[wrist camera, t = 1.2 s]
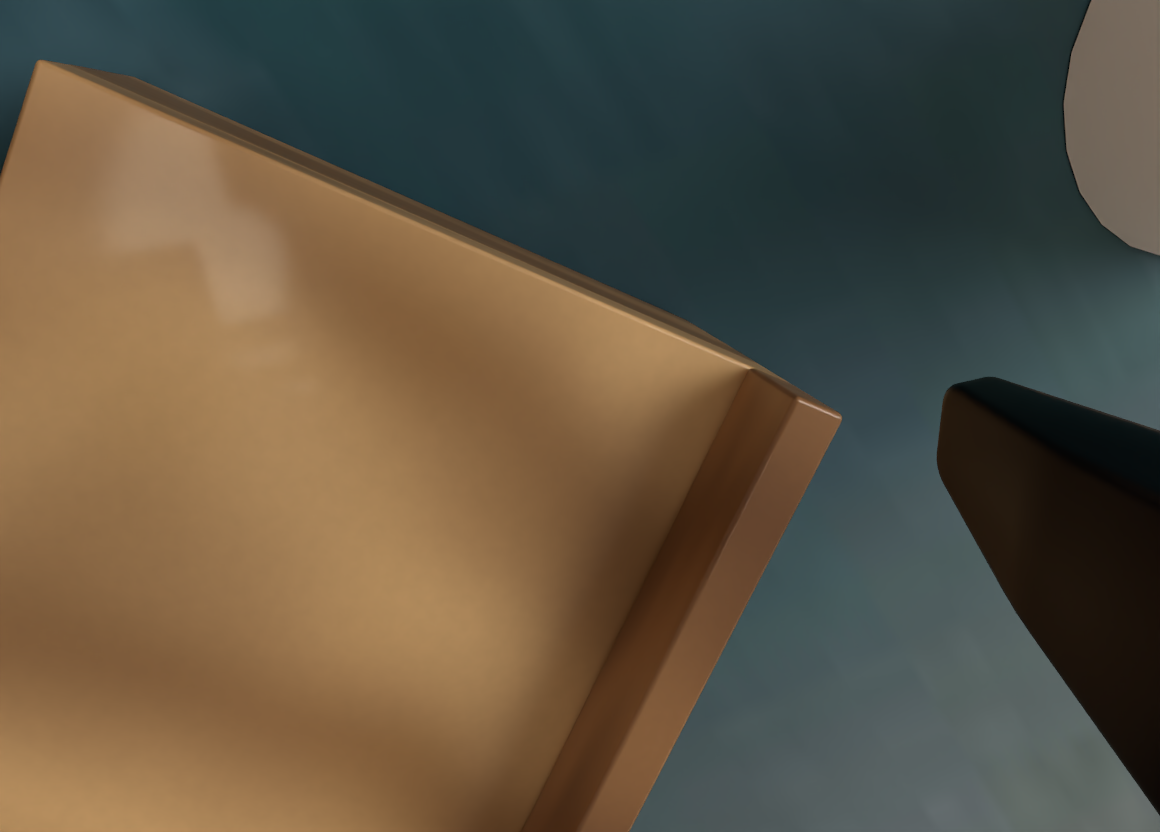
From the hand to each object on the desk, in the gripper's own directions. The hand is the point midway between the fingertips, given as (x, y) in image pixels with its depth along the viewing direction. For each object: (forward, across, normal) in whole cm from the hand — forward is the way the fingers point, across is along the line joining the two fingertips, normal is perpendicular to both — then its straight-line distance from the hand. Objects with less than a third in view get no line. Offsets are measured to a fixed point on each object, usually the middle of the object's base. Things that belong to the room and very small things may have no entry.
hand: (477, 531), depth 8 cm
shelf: (+11, +6, +10) cm, 16 cm away
